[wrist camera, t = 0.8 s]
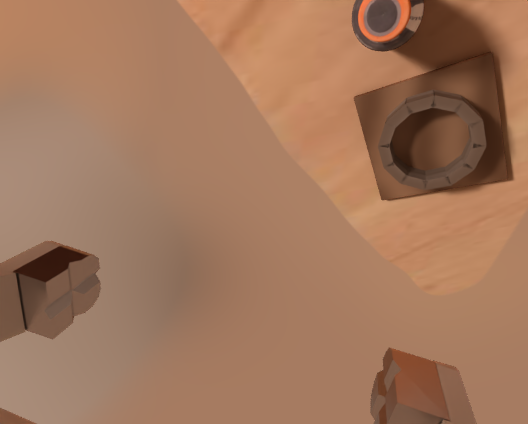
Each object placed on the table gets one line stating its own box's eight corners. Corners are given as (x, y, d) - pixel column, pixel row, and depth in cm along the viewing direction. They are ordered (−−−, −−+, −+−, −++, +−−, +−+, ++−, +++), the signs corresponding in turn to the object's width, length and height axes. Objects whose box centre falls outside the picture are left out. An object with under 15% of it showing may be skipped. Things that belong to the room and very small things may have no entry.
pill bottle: (437, -6, 34) (442, -10, 25) (401, 53, 38) (395, 68, 29) (383, -31, 35) (370, -45, 26) (353, 29, 38) (332, 36, 29)
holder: (490, 51, 35) (497, 56, 31) (506, 175, 40) (513, 190, 36) (355, 96, 42) (349, 103, 38) (382, 197, 46) (379, 211, 43)
